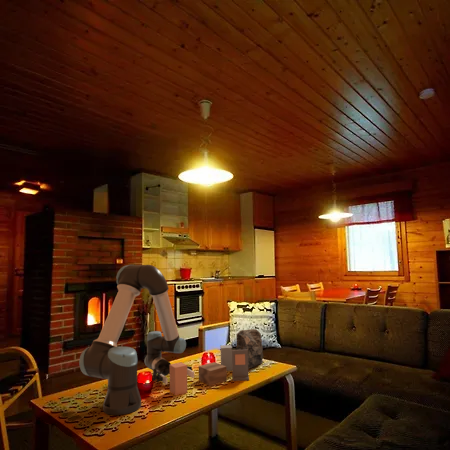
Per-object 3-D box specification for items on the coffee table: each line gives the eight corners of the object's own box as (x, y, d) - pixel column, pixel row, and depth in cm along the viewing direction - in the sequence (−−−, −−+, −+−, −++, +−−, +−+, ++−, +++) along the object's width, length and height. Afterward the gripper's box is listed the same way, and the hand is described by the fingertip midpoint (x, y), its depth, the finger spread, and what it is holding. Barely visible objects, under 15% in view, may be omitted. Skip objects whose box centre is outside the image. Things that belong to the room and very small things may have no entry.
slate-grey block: (221, 371, 186) (220, 348, 187) (220, 367, 192) (220, 345, 193) (232, 370, 186) (231, 347, 187) (231, 367, 192) (231, 345, 193)
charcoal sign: (233, 380, 170) (232, 351, 172) (232, 378, 174) (231, 349, 176) (249, 380, 171) (248, 351, 172) (248, 377, 175) (247, 349, 176)
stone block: (244, 371, 185) (243, 333, 187) (233, 367, 191) (232, 330, 193) (267, 364, 196) (266, 328, 198) (256, 360, 203) (255, 326, 205)
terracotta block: (169, 391, 159) (169, 364, 160) (181, 388, 162) (181, 362, 163) (175, 395, 154) (175, 367, 155) (187, 392, 157) (187, 365, 158)
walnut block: (198, 380, 172) (198, 366, 173) (214, 376, 179) (214, 362, 179) (210, 386, 165) (210, 370, 165) (226, 381, 171) (226, 366, 171)
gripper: (183, 369, 182) (204, 380, 164) (137, 379, 168) (154, 392, 150) (183, 354, 182) (203, 364, 165) (137, 363, 169) (154, 375, 151)
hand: (180, 378), depth 158 cm, fingers open, 13 cm apart
